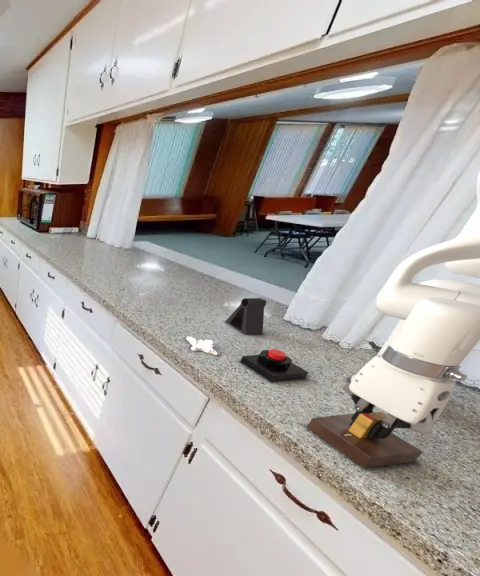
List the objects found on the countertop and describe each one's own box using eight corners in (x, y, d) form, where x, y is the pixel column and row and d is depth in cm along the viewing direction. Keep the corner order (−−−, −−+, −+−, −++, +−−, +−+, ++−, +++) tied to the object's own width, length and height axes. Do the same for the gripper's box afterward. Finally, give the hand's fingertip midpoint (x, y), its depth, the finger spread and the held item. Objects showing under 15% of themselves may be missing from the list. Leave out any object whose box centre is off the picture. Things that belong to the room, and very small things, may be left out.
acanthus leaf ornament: (185, 339, 102) (187, 334, 101) (209, 343, 100) (211, 338, 99) (191, 351, 96) (193, 346, 95) (217, 355, 93) (219, 350, 92)
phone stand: (225, 321, 112) (236, 293, 107) (241, 321, 112) (252, 293, 107) (245, 334, 104) (257, 304, 99) (262, 334, 104) (275, 304, 99)
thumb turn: (368, 428, 64) (381, 410, 62) (381, 436, 62) (395, 418, 60) (347, 430, 64) (360, 412, 62) (360, 438, 62) (373, 420, 60)
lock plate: (351, 422, 69) (358, 412, 68) (414, 461, 60) (424, 451, 59) (306, 427, 68) (312, 417, 67) (363, 468, 59) (372, 457, 58)
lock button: (274, 353, 88) (277, 348, 87) (287, 360, 85) (290, 355, 84) (263, 354, 88) (266, 349, 87) (276, 361, 84) (279, 356, 84)
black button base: (272, 359, 91) (277, 348, 90) (305, 378, 83) (311, 367, 81) (240, 361, 90) (244, 351, 89) (270, 381, 82) (276, 370, 80)
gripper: (508, 390, 48) (439, 464, 56) (376, 337, 63) (334, 402, 70) (470, 394, 48) (405, 469, 55) (345, 339, 62) (307, 405, 70)
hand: (366, 431), depth 63 cm, fingers closed on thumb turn, 2 cm apart
